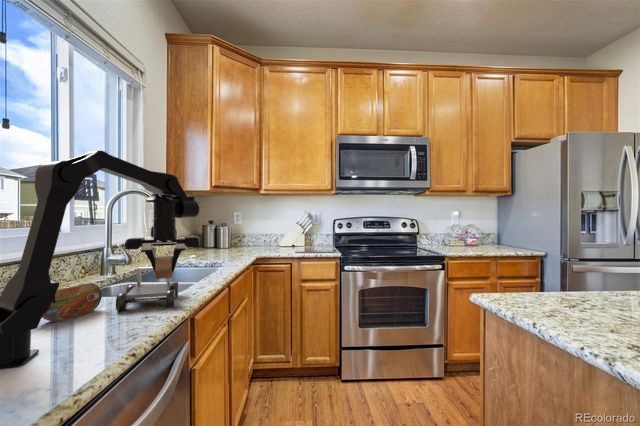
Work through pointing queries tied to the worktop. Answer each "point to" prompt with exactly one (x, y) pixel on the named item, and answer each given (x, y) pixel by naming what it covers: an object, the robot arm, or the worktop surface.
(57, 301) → the tin
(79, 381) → the worktop surface
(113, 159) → the robot arm
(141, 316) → the worktop surface
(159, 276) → the block
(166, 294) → the trolley
